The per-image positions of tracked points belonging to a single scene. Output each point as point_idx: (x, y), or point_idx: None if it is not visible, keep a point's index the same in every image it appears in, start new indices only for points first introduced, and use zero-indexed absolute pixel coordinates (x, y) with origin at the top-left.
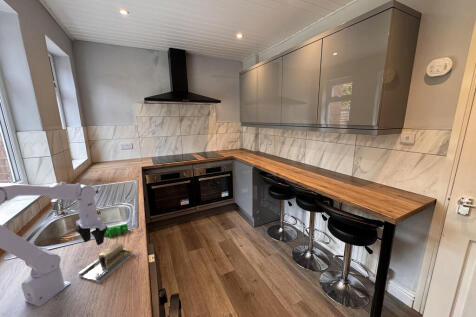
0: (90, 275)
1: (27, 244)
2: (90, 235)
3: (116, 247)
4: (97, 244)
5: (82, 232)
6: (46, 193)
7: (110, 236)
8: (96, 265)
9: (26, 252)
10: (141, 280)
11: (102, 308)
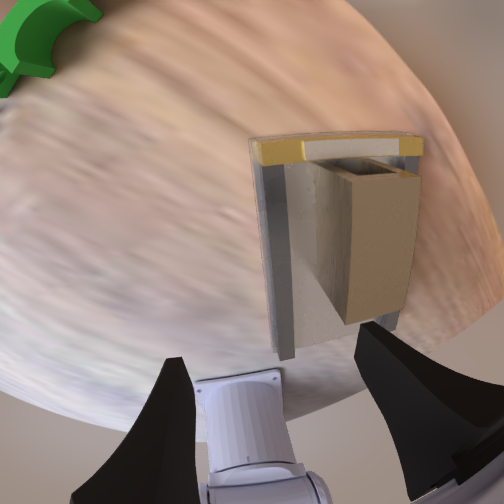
0: (332, 330)
1: None
2: (175, 387)
3: (411, 226)
4: (359, 364)
5: (193, 494)
6: None
7: (49, 69)
8: (297, 291)
9: None
10: (492, 241)
11: (444, 338)
